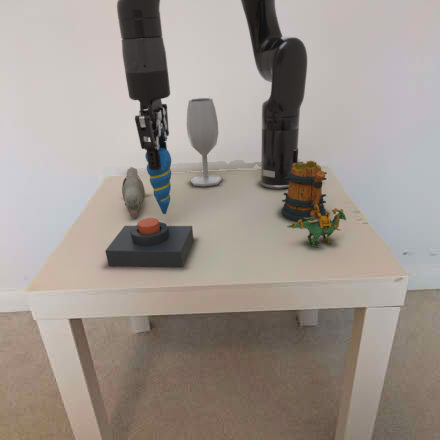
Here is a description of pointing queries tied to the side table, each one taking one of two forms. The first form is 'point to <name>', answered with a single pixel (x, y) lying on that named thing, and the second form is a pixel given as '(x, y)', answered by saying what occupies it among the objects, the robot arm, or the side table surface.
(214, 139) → the wineglass
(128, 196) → the decorative bird
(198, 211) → the side table surface
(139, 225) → the button
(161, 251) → the buzzer
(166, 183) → the ornament
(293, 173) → the mug
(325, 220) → the figurine
